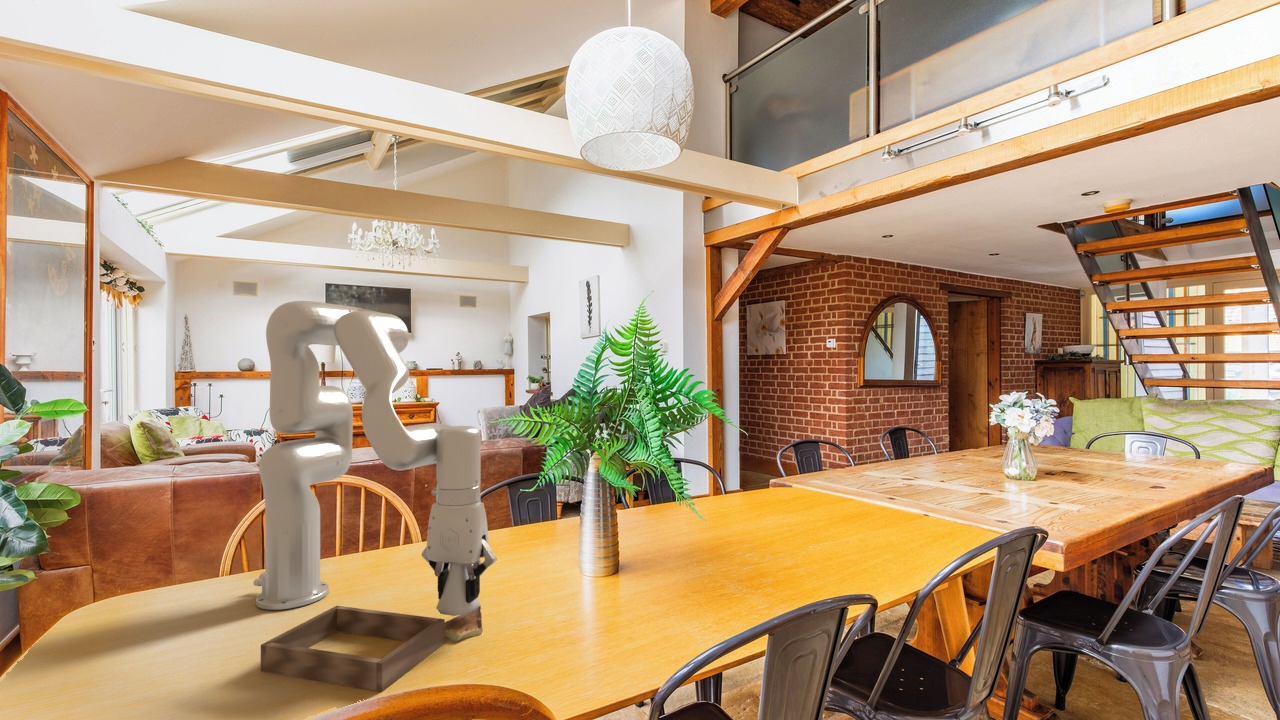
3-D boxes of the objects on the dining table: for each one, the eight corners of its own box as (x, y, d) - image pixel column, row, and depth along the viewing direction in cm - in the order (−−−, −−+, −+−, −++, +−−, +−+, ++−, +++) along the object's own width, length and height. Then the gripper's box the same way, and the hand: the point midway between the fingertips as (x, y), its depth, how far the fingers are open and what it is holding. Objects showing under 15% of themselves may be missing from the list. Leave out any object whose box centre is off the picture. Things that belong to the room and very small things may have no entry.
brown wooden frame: (260, 671, 88) (260, 644, 88) (336, 628, 103) (336, 605, 103) (382, 691, 82) (382, 663, 83) (444, 643, 97) (444, 619, 97)
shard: (480, 613, 110) (480, 603, 110) (509, 622, 106) (509, 612, 106) (432, 636, 101) (432, 625, 101) (463, 647, 97) (463, 636, 97)
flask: (453, 620, 98) (453, 561, 98) (428, 610, 102) (428, 553, 102) (487, 606, 104) (487, 550, 104) (463, 597, 108) (463, 543, 108)
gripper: (404, 497, 102) (404, 601, 102) (490, 503, 97) (490, 612, 97) (430, 489, 109) (430, 585, 109) (511, 494, 105) (511, 595, 104)
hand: (458, 597), depth 103 cm, fingers closed on flask, 4 cm apart
